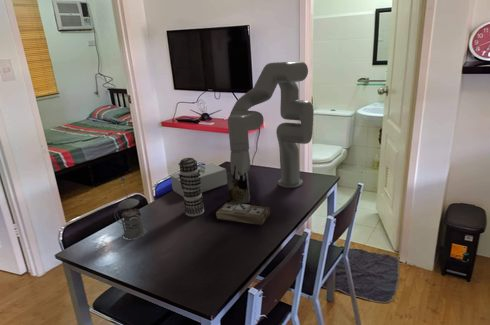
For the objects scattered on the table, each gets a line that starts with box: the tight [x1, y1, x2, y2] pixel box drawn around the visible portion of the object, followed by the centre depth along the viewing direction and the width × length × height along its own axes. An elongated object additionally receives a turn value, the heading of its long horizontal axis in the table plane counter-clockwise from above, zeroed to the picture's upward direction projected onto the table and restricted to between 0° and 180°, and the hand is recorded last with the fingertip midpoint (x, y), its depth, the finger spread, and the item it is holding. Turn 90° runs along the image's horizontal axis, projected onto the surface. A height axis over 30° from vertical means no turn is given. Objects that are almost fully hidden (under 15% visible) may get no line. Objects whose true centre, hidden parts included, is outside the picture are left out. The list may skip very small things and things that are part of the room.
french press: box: [113, 176, 148, 239], centre depth 139 cm, size 10×12×25 cm
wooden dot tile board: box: [215, 202, 271, 226], centre depth 149 cm, size 10×21×3 cm, turn 66°
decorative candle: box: [178, 157, 205, 217], centre depth 153 cm, size 9×9×25 cm
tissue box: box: [170, 162, 228, 198], centre depth 183 cm, size 14×25×11 cm, turn 126°
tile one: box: [221, 204, 237, 212], centre depth 152 cm, size 5×5×3 cm
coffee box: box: [226, 166, 251, 204], centre depth 162 cm, size 9×6×16 cm
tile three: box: [235, 203, 251, 214], centre depth 149 cm, size 5×5×3 cm
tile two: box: [249, 208, 265, 216], centre depth 146 cm, size 5×5×3 cm
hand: (243, 188), depth 145 cm, fingers closed
